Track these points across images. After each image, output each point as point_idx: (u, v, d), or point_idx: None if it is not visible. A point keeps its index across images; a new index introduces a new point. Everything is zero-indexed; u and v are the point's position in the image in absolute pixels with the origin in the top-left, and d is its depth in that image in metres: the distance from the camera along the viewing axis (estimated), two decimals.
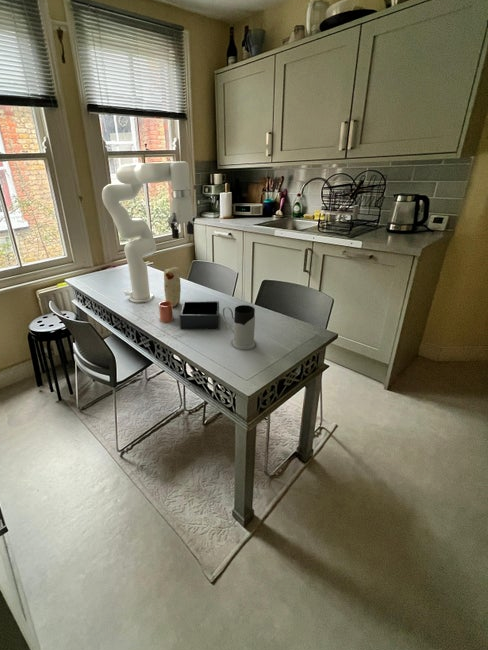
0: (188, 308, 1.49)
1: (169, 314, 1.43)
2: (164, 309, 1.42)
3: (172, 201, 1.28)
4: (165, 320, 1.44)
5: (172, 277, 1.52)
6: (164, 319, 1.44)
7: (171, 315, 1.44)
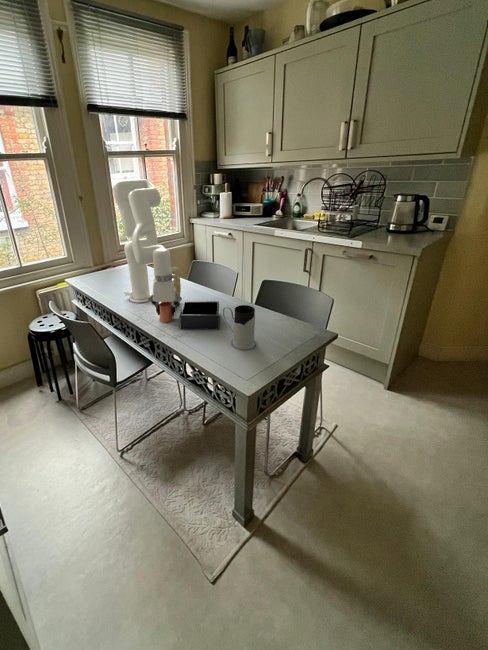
0: (188, 308, 1.49)
1: (169, 314, 1.43)
2: (164, 309, 1.42)
3: (153, 281, 1.41)
4: (165, 320, 1.44)
5: None
6: (164, 319, 1.44)
7: (171, 315, 1.44)
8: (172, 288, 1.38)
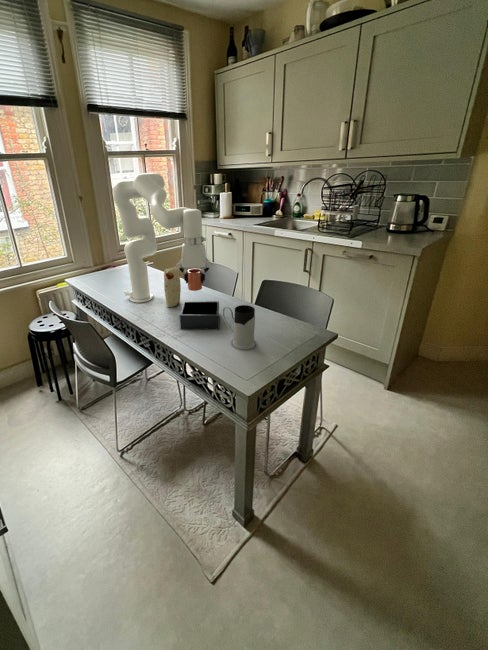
0: (188, 308, 1.49)
1: (198, 282, 1.33)
2: (193, 276, 1.32)
3: (182, 245, 1.31)
4: (194, 288, 1.34)
5: (172, 277, 1.52)
6: (193, 287, 1.34)
7: (200, 283, 1.35)
8: (203, 252, 1.28)
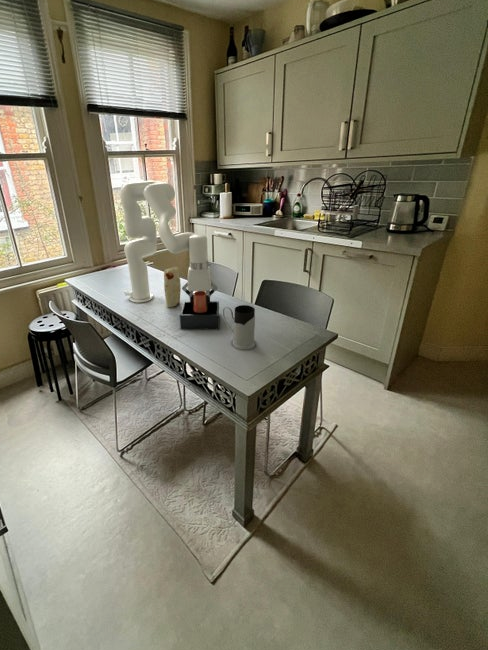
0: (188, 308, 1.49)
1: (204, 304, 1.37)
2: (199, 299, 1.36)
3: (188, 269, 1.35)
4: (199, 310, 1.38)
5: (172, 277, 1.52)
6: (198, 309, 1.38)
7: (206, 305, 1.38)
8: (208, 276, 1.32)
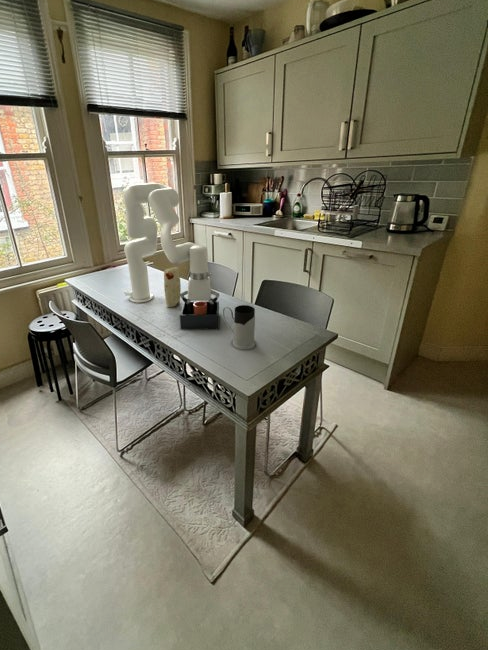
0: None
1: None
2: (199, 309, 1.38)
3: None
4: None
5: (172, 277, 1.52)
6: None
7: None
8: (208, 286, 1.34)
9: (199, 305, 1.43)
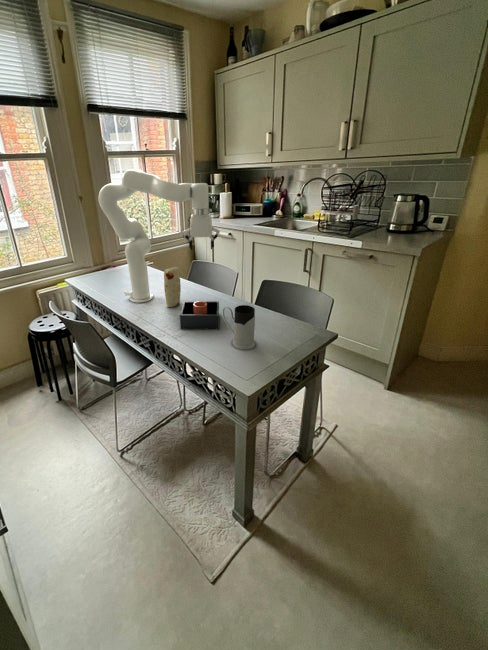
0: (188, 308, 1.49)
1: None
2: (199, 309, 1.38)
3: None
4: None
5: (172, 277, 1.52)
6: None
7: None
8: (209, 222, 1.44)
9: (199, 305, 1.43)
